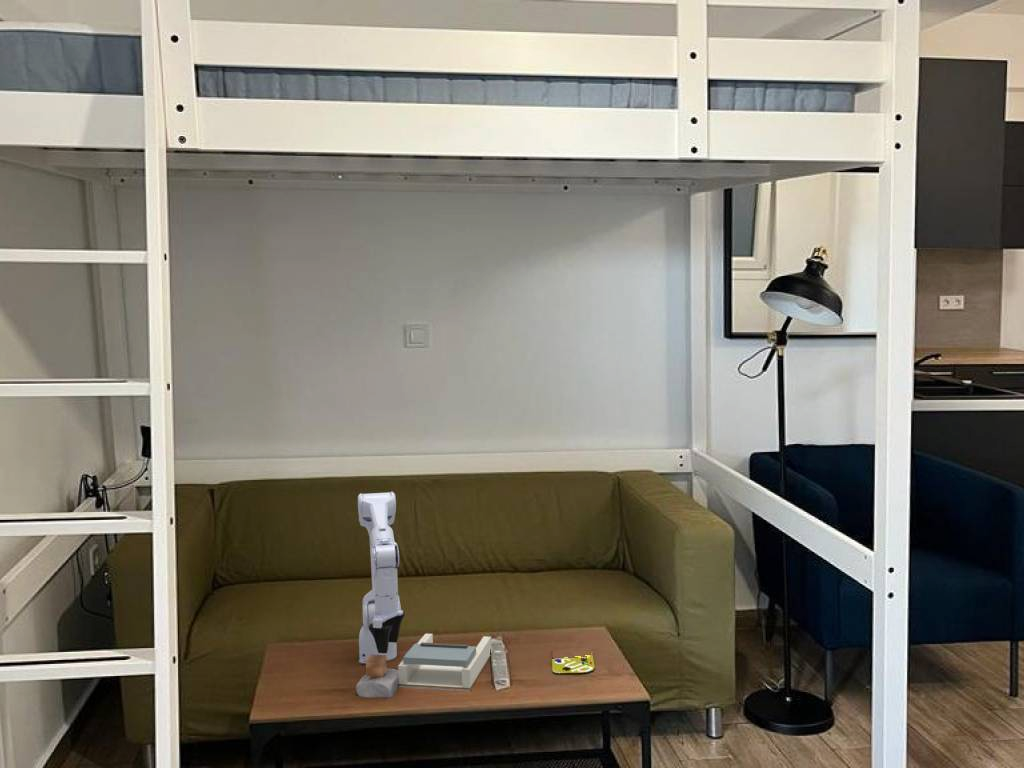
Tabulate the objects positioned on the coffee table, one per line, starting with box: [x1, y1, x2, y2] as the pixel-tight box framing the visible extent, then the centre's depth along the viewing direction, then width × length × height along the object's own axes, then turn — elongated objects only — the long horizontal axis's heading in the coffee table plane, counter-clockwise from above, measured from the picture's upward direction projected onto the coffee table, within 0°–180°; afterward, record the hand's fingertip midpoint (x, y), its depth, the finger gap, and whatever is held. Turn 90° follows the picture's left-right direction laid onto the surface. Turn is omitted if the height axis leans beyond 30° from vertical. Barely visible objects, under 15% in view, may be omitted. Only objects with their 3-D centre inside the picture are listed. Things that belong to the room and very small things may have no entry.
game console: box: [551, 652, 596, 676], centre depth 262 cm, size 18×11×2 cm, turn 0°
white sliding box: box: [397, 633, 492, 693], centre depth 256 cm, size 18×24×6 cm
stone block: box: [355, 667, 400, 699], centre depth 247 cm, size 12×5×10 cm
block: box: [365, 655, 388, 677], centre depth 246 cm, size 4×4×4 cm
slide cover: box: [402, 642, 477, 667], centre depth 250 cm, size 16×10×2 cm, turn 79°
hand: (387, 647), depth 248 cm, fingers open, 7 cm apart
